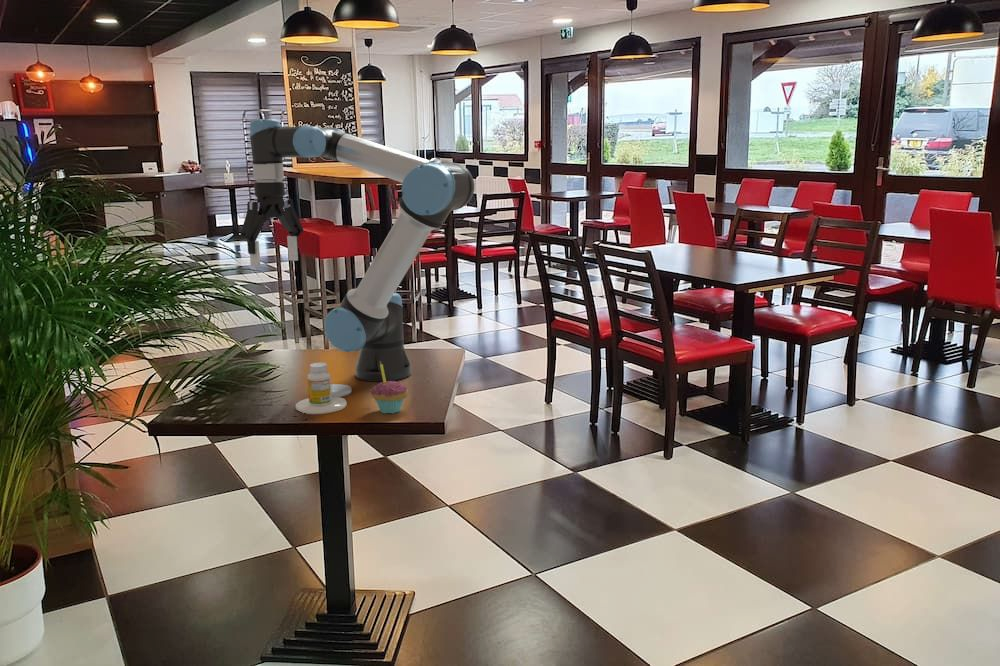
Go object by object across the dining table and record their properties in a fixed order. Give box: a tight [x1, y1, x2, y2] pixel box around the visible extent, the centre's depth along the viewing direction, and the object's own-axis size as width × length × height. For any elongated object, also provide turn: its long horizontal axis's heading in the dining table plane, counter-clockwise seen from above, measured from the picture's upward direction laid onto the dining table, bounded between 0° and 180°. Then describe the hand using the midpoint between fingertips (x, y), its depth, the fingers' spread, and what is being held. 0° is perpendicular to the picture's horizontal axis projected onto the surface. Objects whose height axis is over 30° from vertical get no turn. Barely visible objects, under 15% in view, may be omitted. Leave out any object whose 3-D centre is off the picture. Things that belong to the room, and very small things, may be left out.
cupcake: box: [370, 362, 409, 414], centre depth 191 cm, size 9×8×12 cm
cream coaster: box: [295, 396, 347, 415], centre depth 196 cm, size 12×12×1 cm
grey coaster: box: [331, 383, 352, 398], centre depth 207 cm, size 10×10×1 cm
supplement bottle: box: [307, 362, 332, 406], centre depth 195 cm, size 5×5×10 cm
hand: (275, 263), depth 213 cm, fingers open, 13 cm apart
